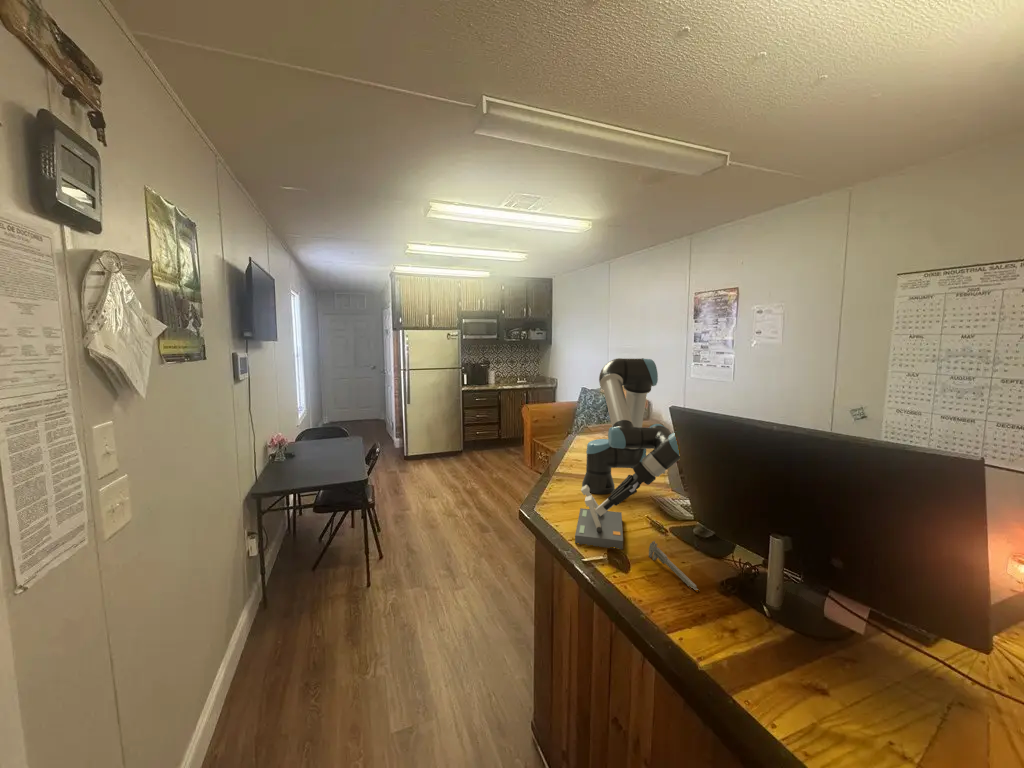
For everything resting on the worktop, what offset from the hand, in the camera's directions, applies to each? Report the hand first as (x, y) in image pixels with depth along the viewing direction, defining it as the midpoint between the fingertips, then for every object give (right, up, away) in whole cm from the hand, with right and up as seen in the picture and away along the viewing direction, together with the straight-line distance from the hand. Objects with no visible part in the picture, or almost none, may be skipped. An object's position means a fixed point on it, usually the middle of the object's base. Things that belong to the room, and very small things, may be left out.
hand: (597, 512), depth 143 cm
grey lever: (+1, -6, +1) cm, 6 cm away
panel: (+2, -9, +8) cm, 12 cm away
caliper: (+18, -13, -20) cm, 30 cm away
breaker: (+4, -4, +14) cm, 15 cm away
